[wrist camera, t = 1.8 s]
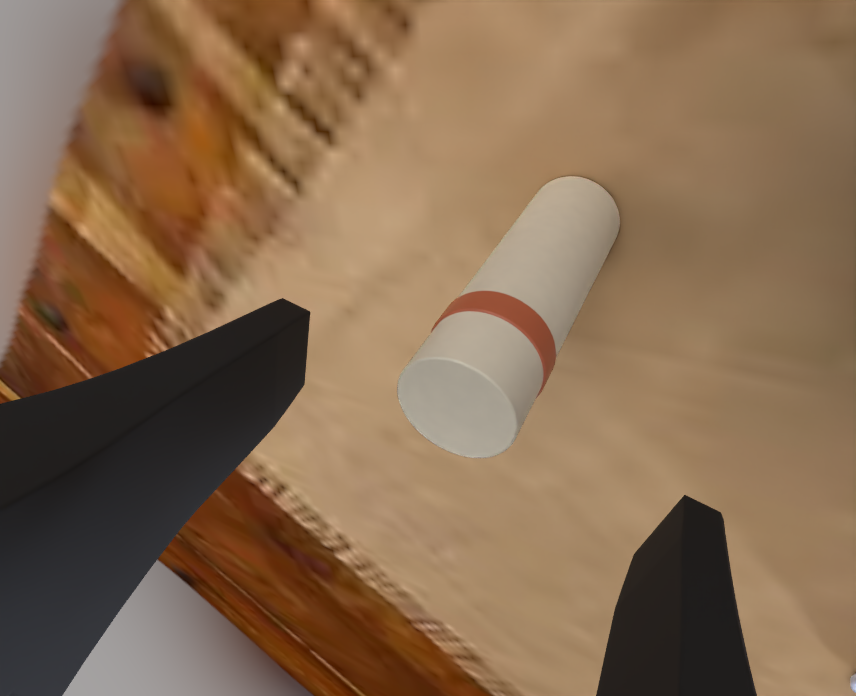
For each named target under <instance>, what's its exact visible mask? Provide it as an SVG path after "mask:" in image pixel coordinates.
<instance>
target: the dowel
mask: <svg viewBox="0 0 856 696" xmlns="http://www.w3.org/2000/svg"><path fill="white" fill-rule="evenodd" d="M619 227H620V216H619V211H618V208H617V206H616V203H615V202H614V200H613V198H612V197H611V195H610V194H609V193H608V192H607V191H606V190H605V189H604V188H603V187H602V186H600V185H599V184H597V183H595V182H593V181H591V180H589V179H586V178H582V177H576V176H567V177H560V178H557V179H554V180H552V181H550V182H548V183H547V184H545V185H544V186H543V187H542V188H541V189H540V190H539V191H538V192H537V193H536V195H535V196H534V197H533V199H532V200H531V201H530V203H529V204H528V205H527V207H526V208H525V209H524V211H523V212H522V213H521V215H520V216H519V217H518V219H517V220H516V221H515V223H514V224H513V225H512V226H511V228H510V229H509V230H508V232H507V233H506V234H505V236H504V237H503V238H502V240H501V241H500V242H499V244H498V245H497V246H496V248H495V249H494V250H493V252H492V253H491V254H490V256H489V257H488V258H487V260H486V261H485V262H484V264H483V265H482V266H481V268H480V269H479V270H478V271H477V273H476V274H475V275H474V277H473V278H472V279H471V281H470V282H469V283H468V285H467V286H466V287H465V289H464V290H463V291H462V293H461V294H460V295H459V297H458V298H457V299H455V300H454V301H453V302H452V303H451V304H450V305H449V306H448V307H447V309H446V310H445V311H444V313H443V314H442V315H441V317H440V318H439V319H438V321H437V322H436V323H435V325H434V327H433V328H432V331H431V334H430V335H429V336H428V338H427V339H426V340H425V342H424V343H423V344H422V346H421V347H420V348H419V350H418V351H417V352H416V354H415V355H414V356H413V358H412V359H411V360H410V361H409V363H408V364H407V365H406V367H405V368H404V369H403V371H402V373H401V374H400V377H399V380H398V386H397V392H398V399H399V402H400V405H401V408H402V410H403V412H404V414H405V415H406V417H407V419H408V420H409V421H410V423H411V424H412V425H413V426H414V427H415V428H416V429H417V430H418V431H419V432H420V433H421V434H422V435H423V436H424V437H425V438H427V439H428V440H429V441H431V442H432V443H434V444H435V445H437V446H439V447H441V448H442V449H444V450H447V451H449V452H451V453H454V454H457V455H461V456H464V457H470V458H487V457H493V456H496V455H498V454H500V453H502V452H504V451H505V450H507V449H508V448H509V447H510V446H511V445H512V444H513V442H514V440H515V439H516V437H517V435H518V433H519V431H520V429H521V427H522V425H523V423H524V421H525V419H526V417H527V415H528V413H529V411H530V409H531V407H532V405H533V403H534V401H535V399H536V398H537V397H538V395H539V394H540V393H541V392H542V390H543V388H544V386H545V384H546V382H547V380H548V378H549V376H550V374H551V372H552V370H553V368H554V365H555V360H556V357H557V355H558V353H559V351H560V349H561V347H562V345H563V343H564V341H565V339H566V337H567V335H568V333H569V331H570V329H571V327H572V325H573V323H574V321H575V319H576V317H577V315H578V313H579V311H580V309H581V307H582V305H583V303H584V301H585V299H586V297H587V295H588V293H589V291H590V289H591V287H592V285H593V283H594V281H595V279H596V277H597V275H598V273H599V271H600V269H601V267H602V265H603V263H604V261H605V259H606V257H607V255H608V253H609V251H610V249H611V247H612V245H613V243H614V241H615V239H616V237H617V235H618V232H619Z"/></svg>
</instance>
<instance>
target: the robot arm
mask: <svg viewBox="0 0 856 696" xmlns="http://www.w3.org/2000/svg"><path fill="white" fill-rule="evenodd" d="M309 320H310V311H308V310H306V309H304V308H301V307H299V306H297V305H295V304H293V303H291V302H289V301H287V300H285V299H283V298H282V299H279V300H277V301H274V302H272V303H270V304H268V305H266V306H263V307H261V308H259V309H257V310H255V311H253V312H251V313H248V314H246V315H244V316H242V317H240V318H238V319H236V320H233V321H231V322H229V323H227V324H225V325H223V326H220V327H218V328H216V329H214V330H212V331H210V332H207V333H205V334H203V335H201V336H198V337H196V338H194V339H191V340H189V341H187V342H185V343H182V344H180V345H178V346H175V347H173V348H171V349H168V350H166V351H164V352H161V353H159V354H156V355H153V356H151V357H148V358H146V359H143V360H140V361H138V362H135V363H133V364H130V365H128V366H125V367H122V368H120V369H117V370H114V371H112V372H109V373H106V374H103V375H100V376H97V377H94V378H91V379H88V380H85V381H82V382H79V383H76V384H72V385H69V386H66V387H63V388H59V389H56V390H53V391H49V392H45V393H41V394H38V395H34V396H30V397H26V398H22V399H18V400H14V401H10V402H6V403H2V404H0V696H62V695H63V693H64V692H65V691H66V689H67V687H68V686H69V684H70V683H71V681H72V680H73V678H74V676H75V675H76V674H77V672H78V671H79V669H80V668H81V666H82V664H83V663H84V661H85V660H86V658H87V657H88V656H89V654H90V653H91V651H92V650H93V648H94V647H95V645H96V644H97V643H98V641H99V640H100V638H101V637H102V635H103V634H104V632H105V631H106V629H107V628H108V627H109V625H110V623H111V622H112V621H113V619H114V618H115V616H116V615H117V614H118V612H119V611H120V609H121V608H122V607H123V605H124V604H125V602H126V601H127V600H128V598H129V597H130V596H131V594H132V593H133V592H134V590H135V589H136V587H137V586H138V585H139V583H140V582H141V580H142V579H143V578H144V576H145V575H146V574H147V572H148V571H149V570H150V568H151V567H152V566H153V564H154V563H155V562H156V560H157V559H158V558H159V556H160V555H161V554H162V553H163V551H164V550H165V549H166V547H167V546H168V545H169V543H170V542H171V541H172V539H173V538H174V537H175V535H176V534H177V533H178V532H179V530H180V529H181V528H182V527H183V525H184V524H185V523H186V522H187V521H188V520H189V518H190V517H191V516H192V515H193V514H194V513H195V511H196V510H197V509H198V508H199V507H200V506H201V505H202V504H203V503H204V502H205V501H206V499H207V498H208V497H209V496H210V495H211V494H212V493H213V492H214V491H215V490H216V489H217V488H218V487H219V486H220V485H221V483H222V482H223V481H224V480H225V479H226V478H227V477H228V476H229V475H230V474H231V473H232V472H233V471H234V470H235V468H236V467H237V466H238V465H239V464H240V463H241V462H242V461H243V460H244V459H245V458H246V457H247V456H248V455H249V454H250V452H251V451H252V450H253V449H254V448H255V447H256V446H257V445H258V444H259V443H260V442H261V440H262V439H263V438H264V437H265V436H266V435H267V434H268V433H269V432H270V431H271V429H272V428H273V427H274V426H275V425H276V423H277V422H278V421H279V419H280V418H281V417H282V415H283V414H284V413H285V411H286V410H287V409H288V407H289V406H290V404H291V403H292V402H293V400H294V399H295V397H296V396H297V394H298V393H299V391H300V390H301V389H302V387H303V386H304V383H305V370H306V358H307V345H308V333H309ZM850 682H851V689H852V690H853V691H854V692H855V693H856V673H855V674H854V675H852V676H851V677H850ZM596 696H757V694H756V691H755V687H754V682H753V678H752V674H751V670H750V666H749V662H748V657H747V652H746V648H745V643H744V638H743V634H742V629H741V625H740V620H739V615H738V609H737V604H736V599H735V593H734V587H733V581H732V576H731V569H730V563H729V556H728V549H727V542H726V535H725V527H724V519H723V517H722V514H721V512H719V511H717V510H715V509H713V508H711V507H708V506H706V505H704V504H702V503H700V502H698V501H696V500H694V499H692V498H690V497H688V496H686V495H684V496H683V497H682V499H681V500H680V501H679V502H678V503H677V504H676V506H675V507H674V508H673V509H672V510H671V511H670V513H669V514H668V515H667V516H666V517H665V518H664V520H663V521H662V522H661V523H660V524H659V525H658V527H657V528H656V529H655V530H654V531H653V533H652V534H651V535H650V536H649V537H648V538H647V540H646V541H645V542H644V543H643V544H642V545H641V547H640V548H639V549H638V550H637V551H636V552H635V554H634V556H633V559H632V561H631V564H630V567H629V570H628V573H627V575H626V578H625V581H624V584H623V587H622V590H621V593H620V596H619V599H618V602H617V605H616V608H615V612H614V616H613V621H612V625H611V630H610V634H609V639H608V643H607V648H606V652H605V657H604V662H603V667H602V671H601V676H600V681H599V685H598V690H597V695H596Z"/></svg>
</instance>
